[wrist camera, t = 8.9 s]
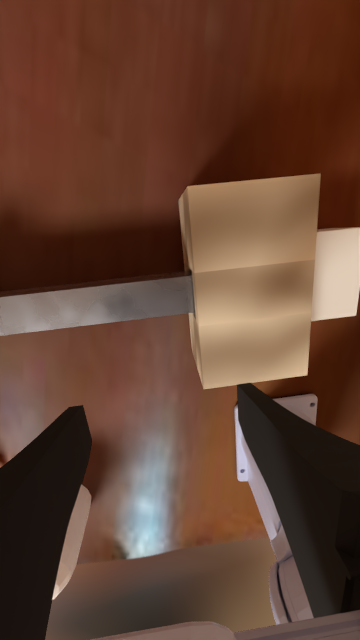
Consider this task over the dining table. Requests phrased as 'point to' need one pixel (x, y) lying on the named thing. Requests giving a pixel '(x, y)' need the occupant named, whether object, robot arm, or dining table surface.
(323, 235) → the block
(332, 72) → the dining table surface
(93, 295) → the bar
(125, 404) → the dining table surface
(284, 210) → the block
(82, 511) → the capsule
